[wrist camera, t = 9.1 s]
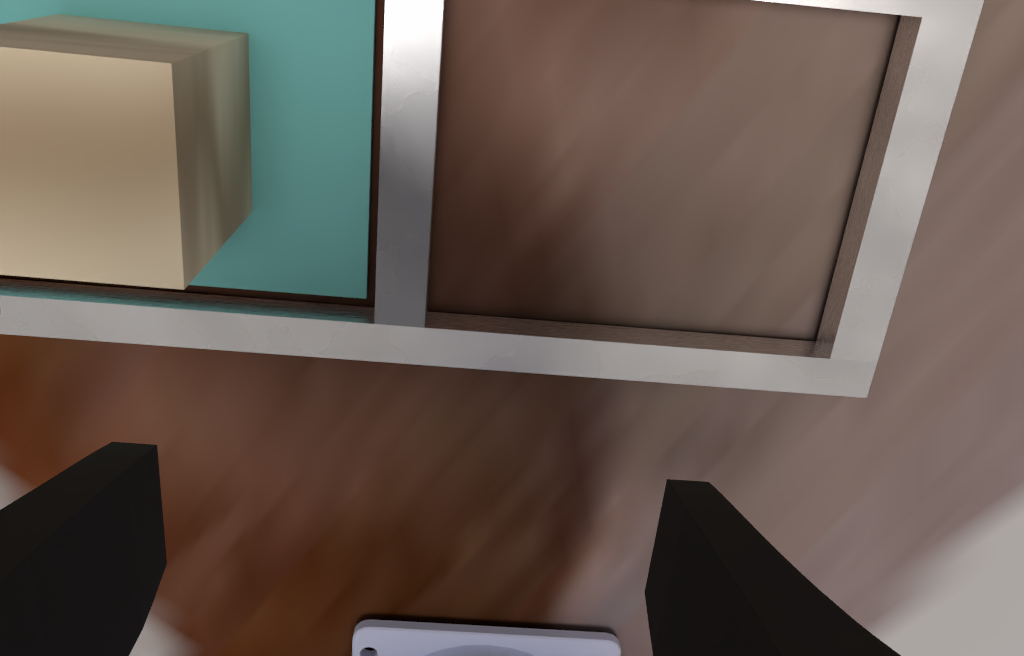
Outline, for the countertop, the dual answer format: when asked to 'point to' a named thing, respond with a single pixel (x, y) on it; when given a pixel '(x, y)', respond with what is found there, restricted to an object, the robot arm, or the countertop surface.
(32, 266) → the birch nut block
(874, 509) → the countertop surface
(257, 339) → the rail frame
